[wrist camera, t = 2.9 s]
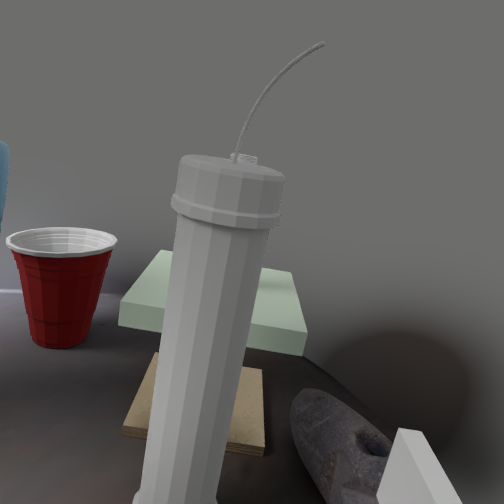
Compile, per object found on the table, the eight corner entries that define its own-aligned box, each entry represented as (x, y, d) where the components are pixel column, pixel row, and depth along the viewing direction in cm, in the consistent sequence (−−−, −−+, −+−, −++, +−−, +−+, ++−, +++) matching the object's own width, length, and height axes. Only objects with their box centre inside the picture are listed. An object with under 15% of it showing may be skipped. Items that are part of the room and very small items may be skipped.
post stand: (262, 456, 35) (327, 175, 29) (121, 435, 35) (156, 143, 28) (260, 377, 47) (306, 163, 40) (154, 360, 46) (184, 140, 40)
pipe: (169, 488, 31) (240, 49, 23) (237, 542, 28) (348, 57, 20) (107, 542, 26) (168, 14, 18) (181, 613, 23) (295, 18, 15)
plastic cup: (39, 307, 53) (44, 216, 50) (122, 325, 52) (132, 234, 49) (-22, 348, 42) (-22, 236, 39) (80, 370, 42) (90, 259, 39)
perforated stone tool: (266, 428, 39) (281, 363, 37) (314, 422, 41) (330, 361, 39) (363, 594, 26) (394, 506, 24) (426, 572, 28) (458, 490, 26)
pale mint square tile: (301, 356, 32) (307, 332, 31) (117, 325, 31) (120, 300, 30) (287, 289, 45) (291, 272, 45) (158, 267, 44) (161, 249, 44)
